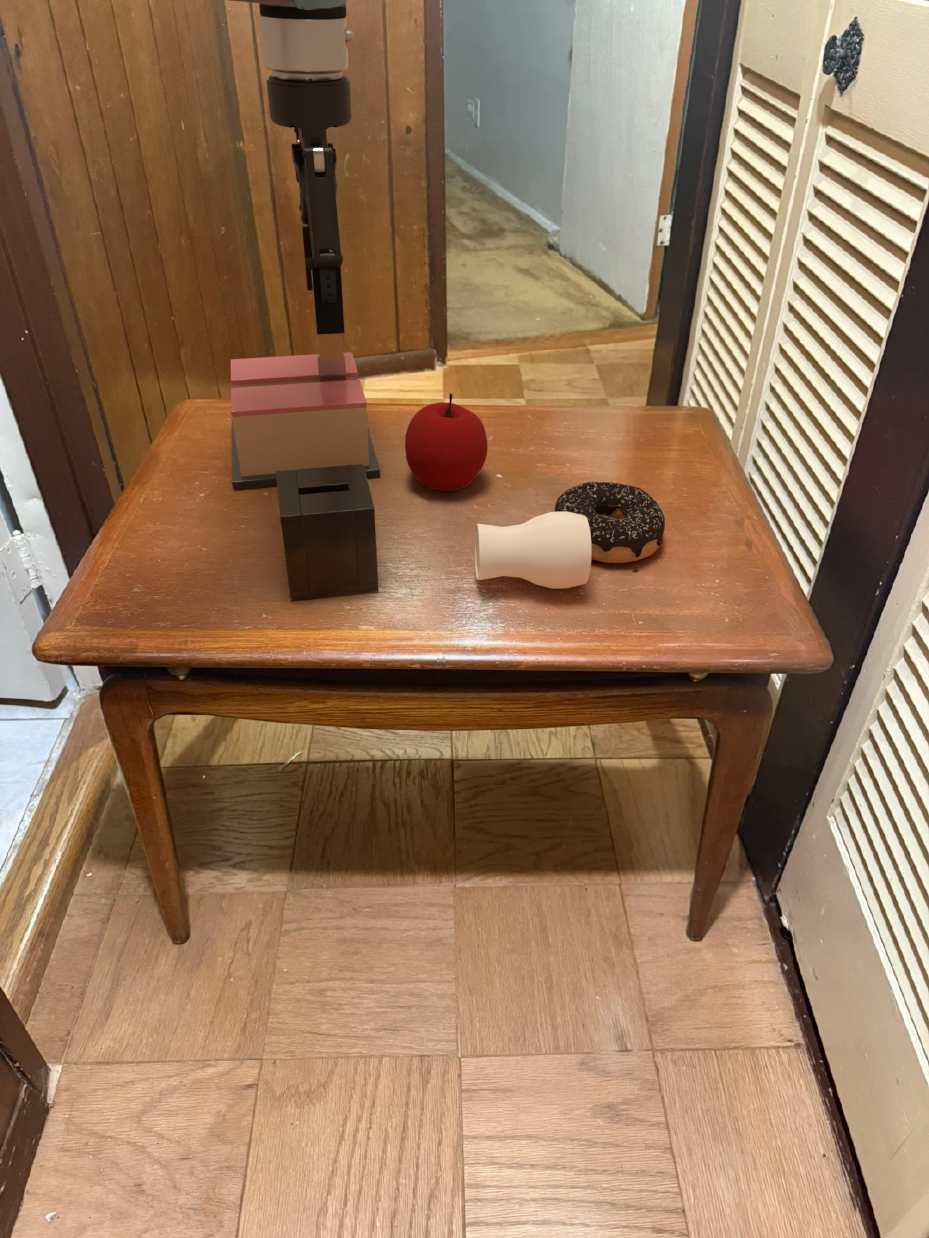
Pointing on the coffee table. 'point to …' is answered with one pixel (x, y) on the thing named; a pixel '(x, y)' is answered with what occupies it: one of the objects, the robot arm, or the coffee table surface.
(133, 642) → the coffee table surface
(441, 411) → the apple
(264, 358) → the cake
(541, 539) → the cream ceramic vase
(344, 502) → the knife block
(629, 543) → the donut
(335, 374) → the knife
